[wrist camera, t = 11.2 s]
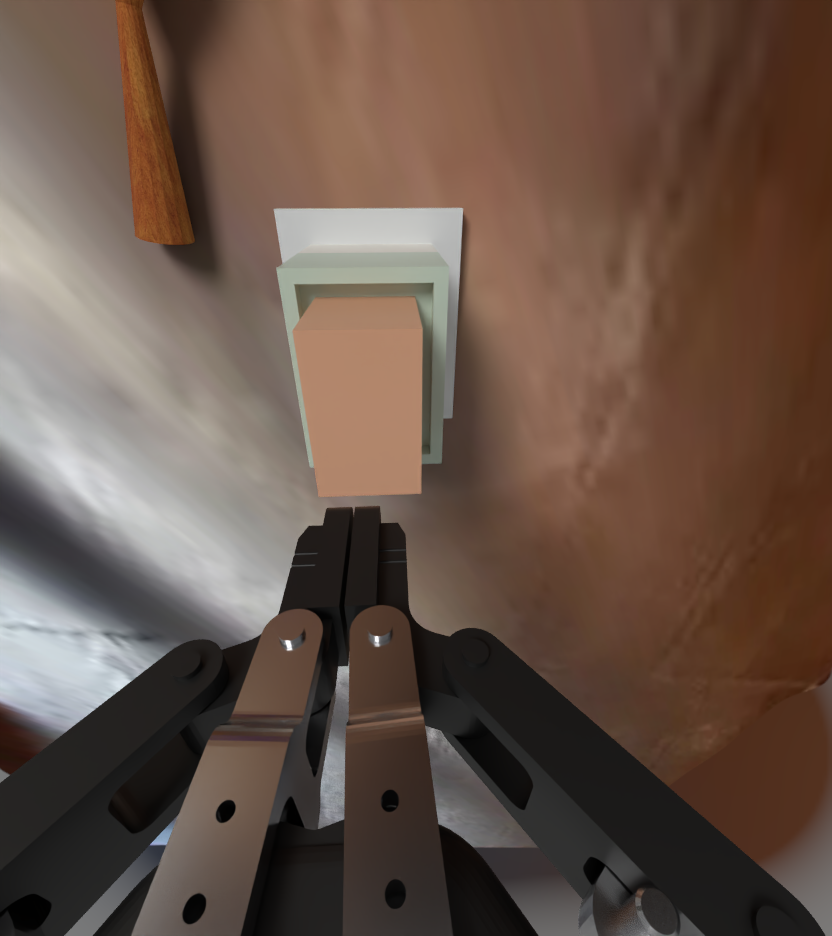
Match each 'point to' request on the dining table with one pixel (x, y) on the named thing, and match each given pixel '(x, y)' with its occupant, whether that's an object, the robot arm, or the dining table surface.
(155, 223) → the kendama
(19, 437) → the dining table surface
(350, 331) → the brick
